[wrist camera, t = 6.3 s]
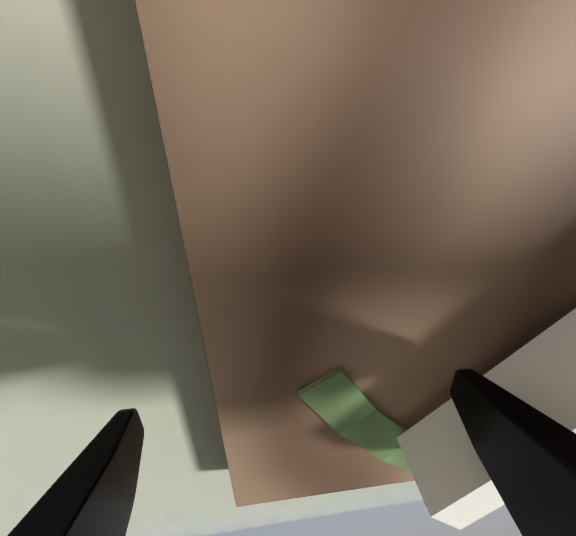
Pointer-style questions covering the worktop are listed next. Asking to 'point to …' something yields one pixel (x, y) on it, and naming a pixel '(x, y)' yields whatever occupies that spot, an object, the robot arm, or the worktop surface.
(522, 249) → the board
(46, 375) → the worktop surface
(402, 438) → the dial needle
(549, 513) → the robot arm
